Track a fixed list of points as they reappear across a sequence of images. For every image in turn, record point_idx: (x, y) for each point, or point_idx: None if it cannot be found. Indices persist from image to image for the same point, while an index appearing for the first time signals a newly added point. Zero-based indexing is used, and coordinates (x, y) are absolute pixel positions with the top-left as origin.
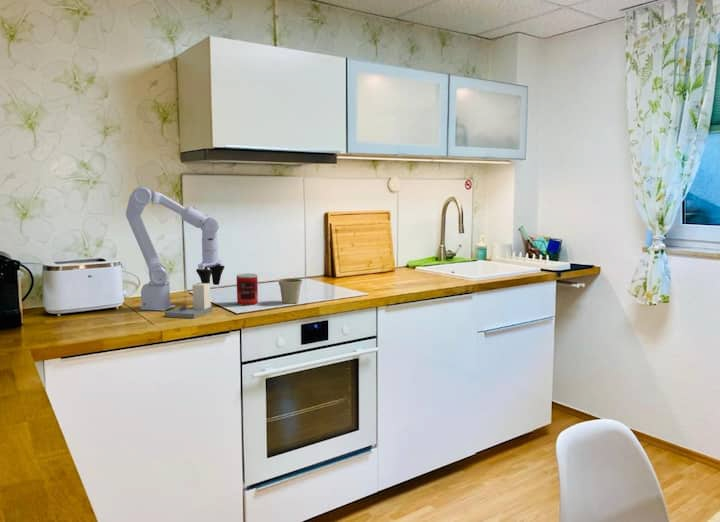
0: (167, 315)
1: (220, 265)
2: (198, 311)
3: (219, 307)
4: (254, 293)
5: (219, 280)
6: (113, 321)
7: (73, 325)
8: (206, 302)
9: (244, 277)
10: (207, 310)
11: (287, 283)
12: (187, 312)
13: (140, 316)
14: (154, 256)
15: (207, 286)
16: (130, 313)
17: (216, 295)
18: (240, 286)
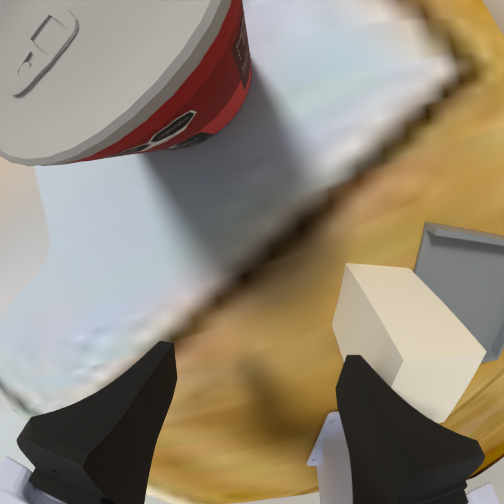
0: (496, 345)
1: (38, 469)
2: (453, 276)
3: (334, 215)
4: None
5: (150, 360)
6: (491, 416)
7: (493, 441)
8: (405, 284)
9: None
10: (467, 231)
11: None
12: (464, 311)
13: (463, 408)
14: None
15: (434, 345)
16: None
17: (50, 343)
18: (236, 64)
